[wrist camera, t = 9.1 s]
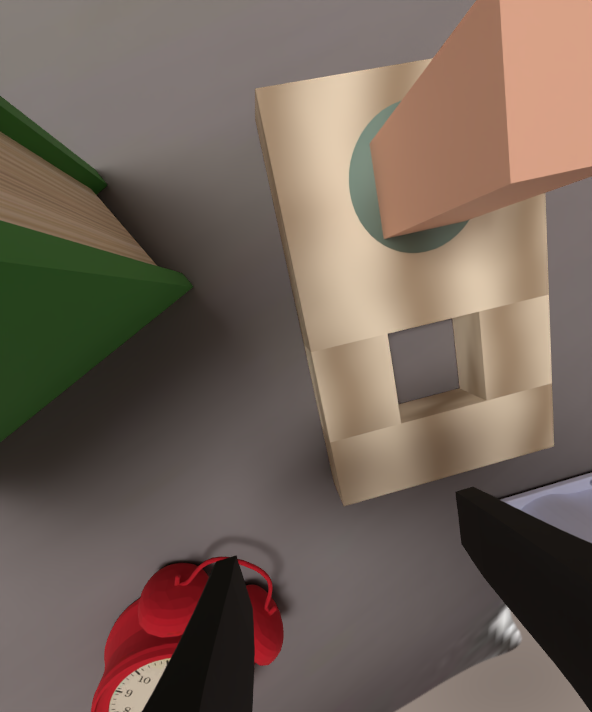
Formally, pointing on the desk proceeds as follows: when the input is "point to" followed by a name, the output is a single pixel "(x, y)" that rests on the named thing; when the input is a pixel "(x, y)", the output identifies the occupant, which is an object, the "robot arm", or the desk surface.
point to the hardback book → (63, 271)
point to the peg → (490, 117)
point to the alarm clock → (170, 633)
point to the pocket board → (402, 295)
